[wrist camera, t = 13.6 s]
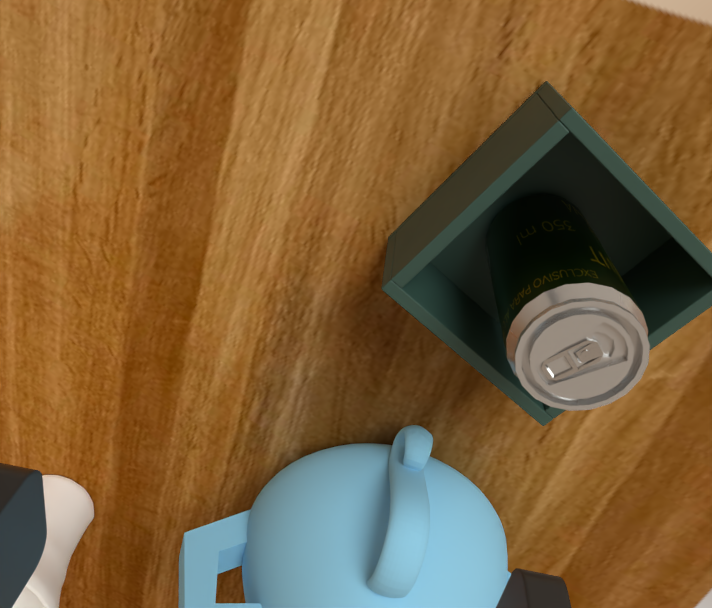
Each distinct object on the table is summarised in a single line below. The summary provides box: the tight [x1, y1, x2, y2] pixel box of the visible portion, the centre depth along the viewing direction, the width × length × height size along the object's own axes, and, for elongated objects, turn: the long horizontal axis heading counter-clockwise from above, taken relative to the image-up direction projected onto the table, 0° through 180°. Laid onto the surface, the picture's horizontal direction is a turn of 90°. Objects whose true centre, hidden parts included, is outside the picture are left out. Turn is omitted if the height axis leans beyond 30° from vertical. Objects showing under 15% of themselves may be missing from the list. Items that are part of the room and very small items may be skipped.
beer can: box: [486, 194, 650, 411], centre depth 30 cm, size 5×5×12 cm
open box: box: [381, 81, 712, 426], centre depth 33 cm, size 11×11×6 cm
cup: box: [12, 475, 94, 608], centre depth 44 cm, size 9×9×10 cm
